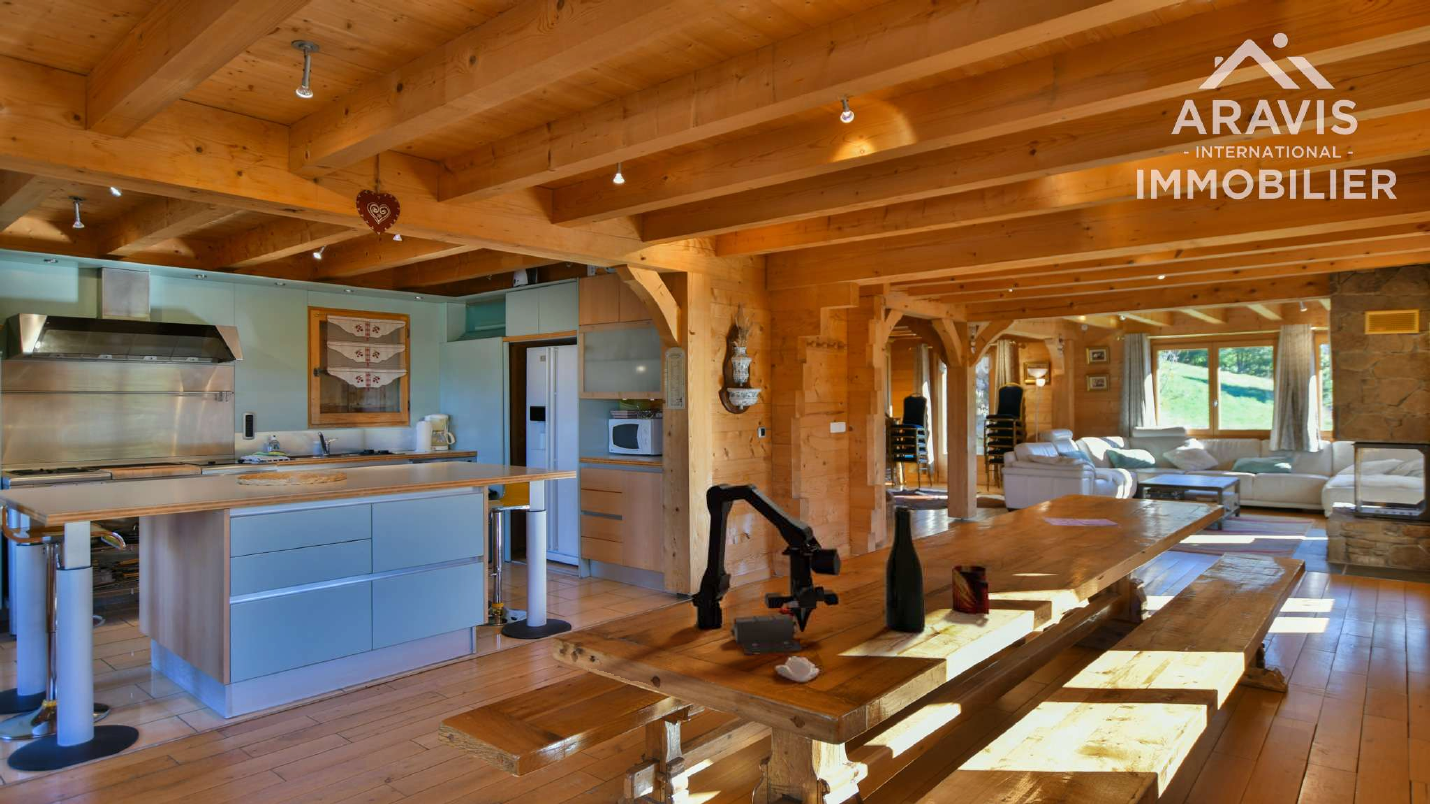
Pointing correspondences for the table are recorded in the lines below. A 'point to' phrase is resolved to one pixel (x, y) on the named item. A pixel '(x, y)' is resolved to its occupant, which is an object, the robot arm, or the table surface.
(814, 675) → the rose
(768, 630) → the hinge
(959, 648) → the table surface
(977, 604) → the mug
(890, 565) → the beer bottle
